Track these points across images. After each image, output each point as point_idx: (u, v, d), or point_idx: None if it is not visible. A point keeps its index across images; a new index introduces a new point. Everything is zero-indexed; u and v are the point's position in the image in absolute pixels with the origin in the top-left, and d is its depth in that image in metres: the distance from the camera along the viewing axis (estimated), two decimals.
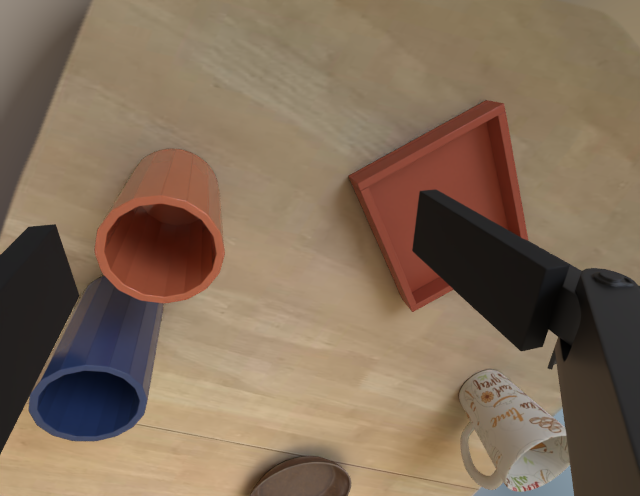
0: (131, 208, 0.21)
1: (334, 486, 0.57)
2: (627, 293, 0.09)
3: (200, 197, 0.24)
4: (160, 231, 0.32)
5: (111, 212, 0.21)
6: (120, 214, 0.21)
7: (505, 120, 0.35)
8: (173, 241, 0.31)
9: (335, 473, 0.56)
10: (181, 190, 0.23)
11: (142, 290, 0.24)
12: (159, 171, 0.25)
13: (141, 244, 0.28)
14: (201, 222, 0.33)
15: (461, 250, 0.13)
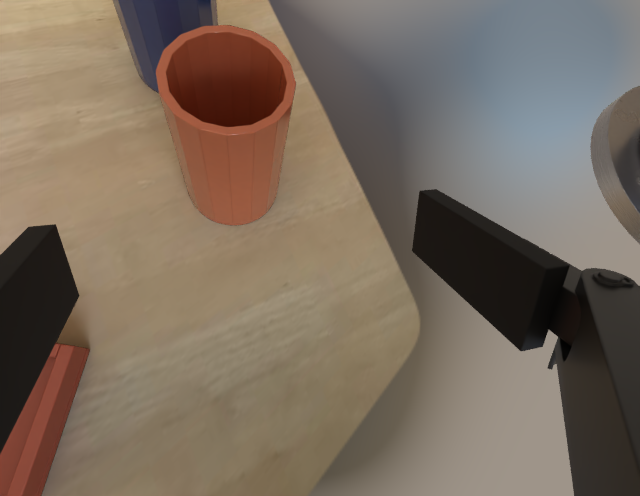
0: (285, 95, 0.20)
1: None
2: (627, 293, 0.09)
3: (238, 157, 0.21)
4: None
5: (294, 82, 0.21)
6: (288, 85, 0.21)
7: None
8: None
9: None
10: (260, 147, 0.21)
11: (208, 39, 0.21)
12: (276, 164, 0.25)
13: (229, 103, 0.26)
14: None
15: (461, 250, 0.13)
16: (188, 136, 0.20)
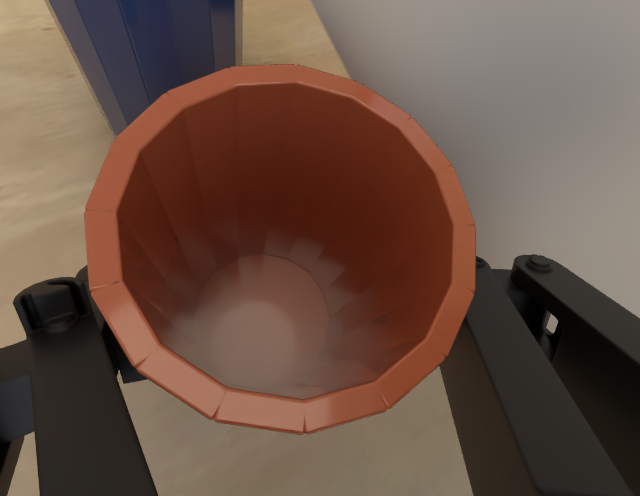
0: (457, 266, 0.07)
1: None
2: (481, 273, 0.10)
3: None
4: (236, 244, 0.16)
5: (472, 222, 0.08)
6: (458, 233, 0.07)
7: None
8: (211, 249, 0.15)
9: None
10: None
11: (240, 99, 0.08)
12: None
13: (268, 204, 0.13)
14: (190, 312, 0.16)
15: None
16: None
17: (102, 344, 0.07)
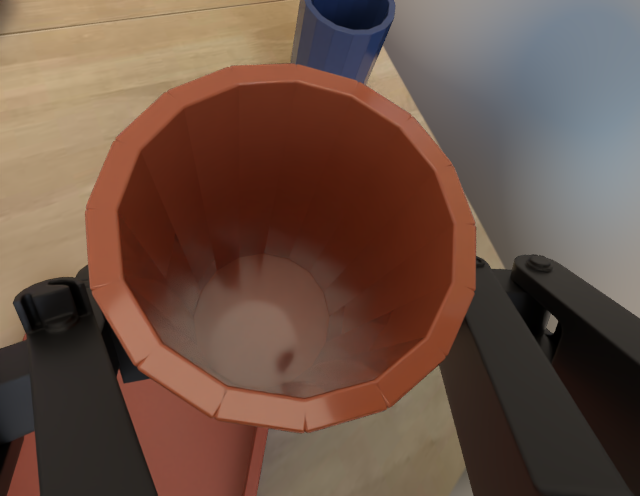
0: (457, 265, 0.07)
1: None
2: (481, 273, 0.10)
3: None
4: (236, 244, 0.16)
5: (472, 221, 0.08)
6: (458, 232, 0.07)
7: None
8: (212, 248, 0.15)
9: None
10: None
11: (240, 98, 0.08)
12: None
13: (268, 203, 0.13)
14: (191, 311, 0.16)
15: None
16: None
17: (102, 344, 0.07)
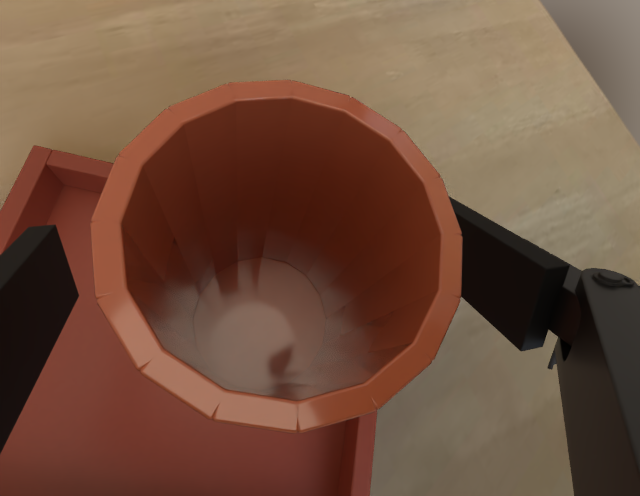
0: (444, 273, 0.08)
1: None
2: (627, 293, 0.09)
3: None
4: (235, 248, 0.17)
5: (459, 231, 0.08)
6: (445, 242, 0.08)
7: None
8: (210, 253, 0.15)
9: None
10: None
11: (238, 113, 0.09)
12: None
13: (266, 210, 0.14)
14: (190, 314, 0.16)
15: None
16: None
17: None
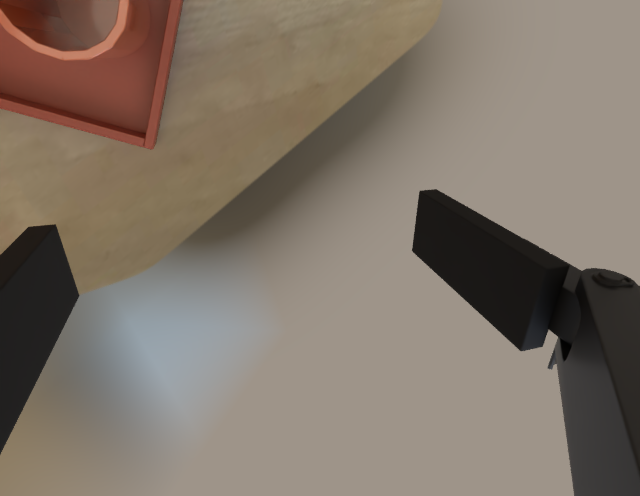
0: (118, 16, 0.22)
1: None
2: (627, 293, 0.09)
3: None
4: None
5: None
6: (120, 3, 0.21)
7: (134, 142, 0.34)
8: None
9: None
10: (102, 56, 0.23)
11: None
12: (131, 42, 0.26)
13: None
14: None
15: (461, 250, 0.13)
16: None
17: None
